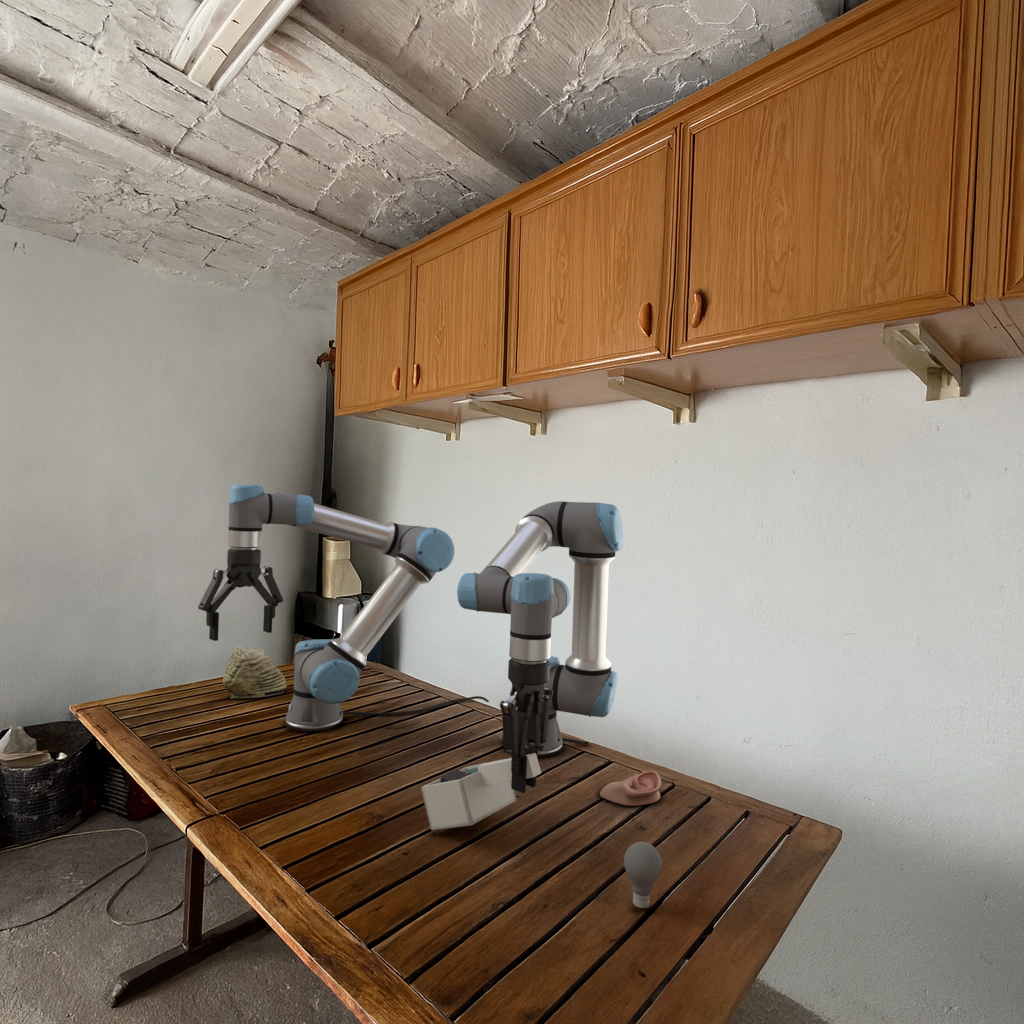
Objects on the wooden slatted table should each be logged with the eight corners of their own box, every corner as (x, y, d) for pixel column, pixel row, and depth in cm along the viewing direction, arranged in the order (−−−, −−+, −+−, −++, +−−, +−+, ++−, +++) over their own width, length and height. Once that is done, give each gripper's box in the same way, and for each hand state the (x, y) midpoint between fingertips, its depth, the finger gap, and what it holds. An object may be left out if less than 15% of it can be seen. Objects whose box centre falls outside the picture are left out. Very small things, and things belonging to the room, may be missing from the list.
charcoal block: (454, 802, 127) (456, 768, 126) (471, 810, 124) (473, 776, 123) (438, 811, 123) (440, 776, 123) (455, 820, 120) (457, 784, 120)
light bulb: (617, 894, 104) (620, 834, 104) (653, 893, 105) (656, 834, 105) (627, 918, 98) (630, 854, 98) (664, 917, 99) (668, 854, 99)
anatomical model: (599, 783, 136) (602, 762, 148) (598, 802, 136) (601, 779, 148) (662, 792, 134) (661, 769, 145) (661, 810, 134) (660, 787, 145)
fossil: (218, 695, 195) (220, 647, 195) (278, 685, 208) (279, 640, 207) (228, 703, 189) (230, 653, 188) (289, 692, 201) (290, 645, 201)
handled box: (476, 806, 131) (465, 762, 133) (566, 793, 117) (552, 744, 120) (430, 830, 121) (419, 782, 123) (523, 819, 107) (509, 765, 109)
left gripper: (282, 545, 165) (279, 626, 165) (184, 548, 146) (181, 640, 146) (299, 547, 160) (296, 631, 161) (199, 551, 141) (196, 646, 141)
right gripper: (537, 648, 123) (532, 768, 124) (485, 662, 111) (480, 794, 112) (570, 656, 119) (564, 780, 119) (519, 670, 107) (513, 809, 107)
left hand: (241, 635), depth 153 cm, fingers open, 13 cm apart
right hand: (523, 787), depth 115 cm, fingers closed on handled box, 2 cm apart
